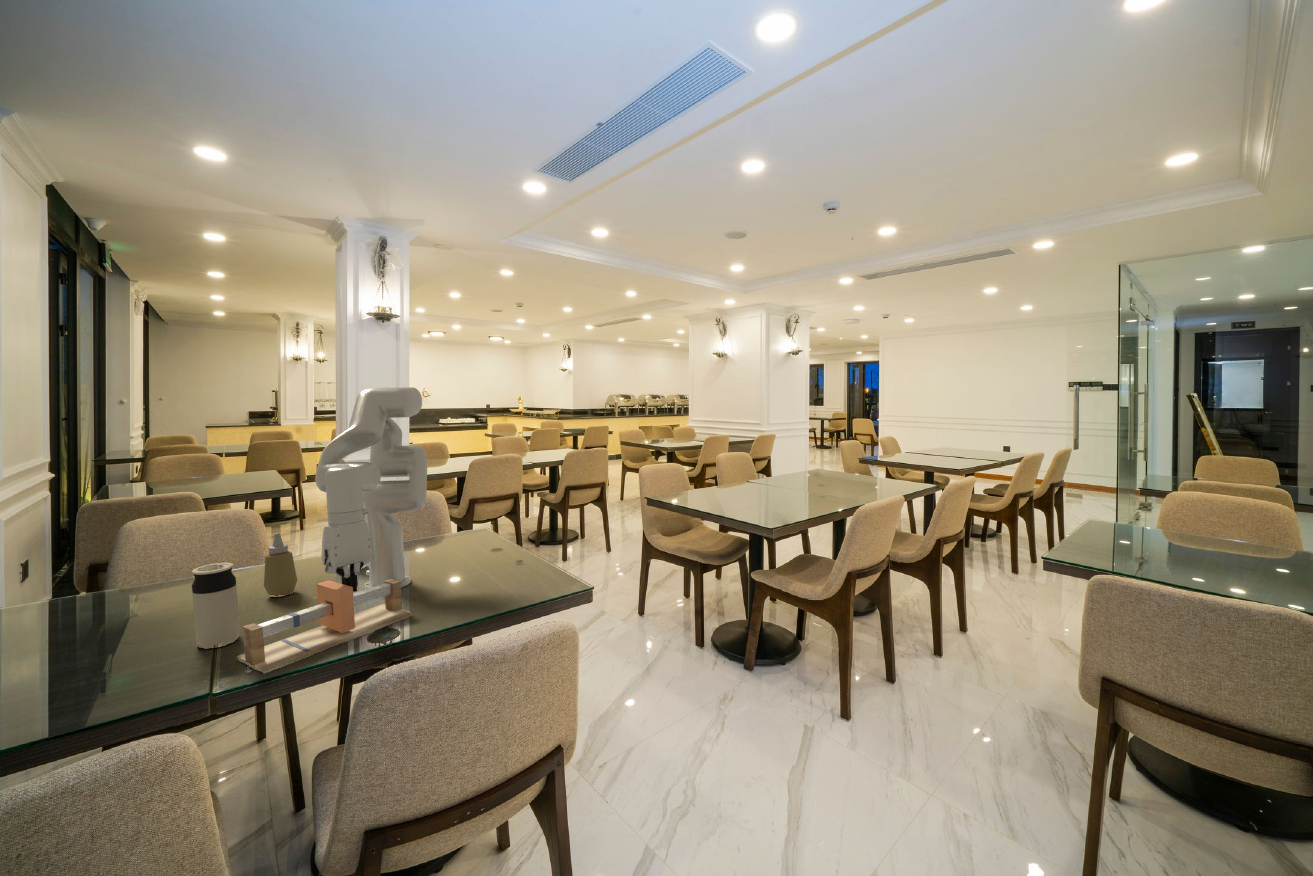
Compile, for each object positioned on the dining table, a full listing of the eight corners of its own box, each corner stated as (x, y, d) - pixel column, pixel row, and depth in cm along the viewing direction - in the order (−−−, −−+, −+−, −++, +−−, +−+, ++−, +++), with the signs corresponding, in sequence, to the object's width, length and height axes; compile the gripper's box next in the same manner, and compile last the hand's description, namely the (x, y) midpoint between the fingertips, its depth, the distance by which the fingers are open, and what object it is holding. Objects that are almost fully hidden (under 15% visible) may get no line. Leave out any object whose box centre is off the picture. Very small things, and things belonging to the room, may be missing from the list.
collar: (319, 624, 133) (316, 584, 132) (331, 619, 136) (329, 580, 135) (342, 633, 128) (339, 591, 127) (355, 628, 130) (352, 587, 130)
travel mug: (205, 653, 123) (198, 575, 121) (191, 645, 127) (184, 569, 125) (246, 639, 129) (240, 565, 128) (231, 632, 134) (226, 560, 132)
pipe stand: (237, 660, 119) (234, 622, 119) (383, 607, 148) (382, 576, 148) (264, 674, 113) (261, 634, 112) (411, 615, 142) (410, 584, 142)
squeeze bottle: (257, 597, 156) (253, 535, 155) (286, 588, 164) (281, 529, 162) (276, 601, 153) (272, 538, 152) (304, 591, 161) (300, 531, 159)
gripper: (366, 510, 141) (370, 580, 142) (304, 522, 128) (309, 598, 130) (384, 513, 137) (388, 584, 139) (322, 525, 124) (327, 604, 126)
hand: (350, 591), depth 134 cm, fingers closed
